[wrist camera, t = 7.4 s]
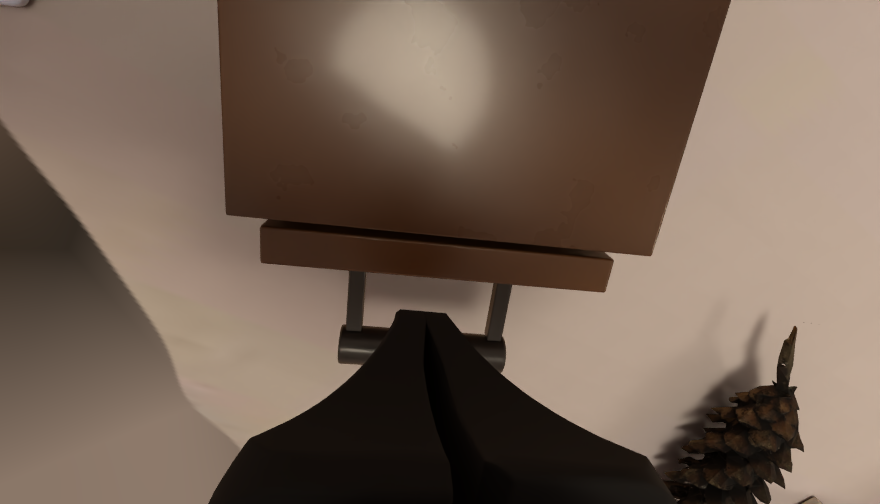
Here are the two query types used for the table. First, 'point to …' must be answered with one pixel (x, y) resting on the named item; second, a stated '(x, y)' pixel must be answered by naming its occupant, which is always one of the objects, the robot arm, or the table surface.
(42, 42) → the table surface
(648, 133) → the cabinet
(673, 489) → the pine cone
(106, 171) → the table surface
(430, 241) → the drawer
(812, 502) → the ink box
